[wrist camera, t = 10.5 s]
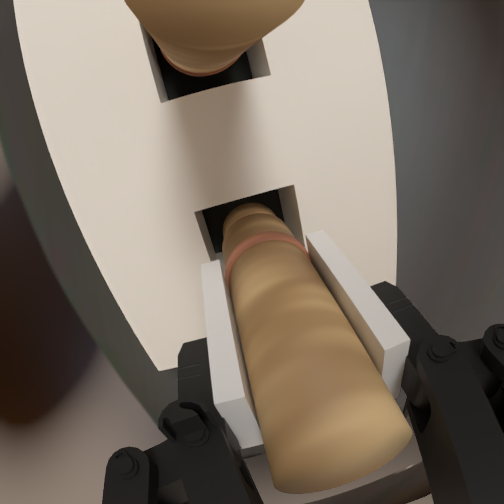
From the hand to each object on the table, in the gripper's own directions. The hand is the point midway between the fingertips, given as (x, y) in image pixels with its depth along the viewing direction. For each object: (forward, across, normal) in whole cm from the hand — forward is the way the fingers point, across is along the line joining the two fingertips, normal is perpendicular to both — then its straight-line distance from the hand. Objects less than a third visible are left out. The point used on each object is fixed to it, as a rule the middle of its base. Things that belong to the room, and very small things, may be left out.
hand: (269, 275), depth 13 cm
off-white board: (+8, 0, +5) cm, 9 cm away
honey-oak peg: (+5, 0, 0) cm, 5 cm away
